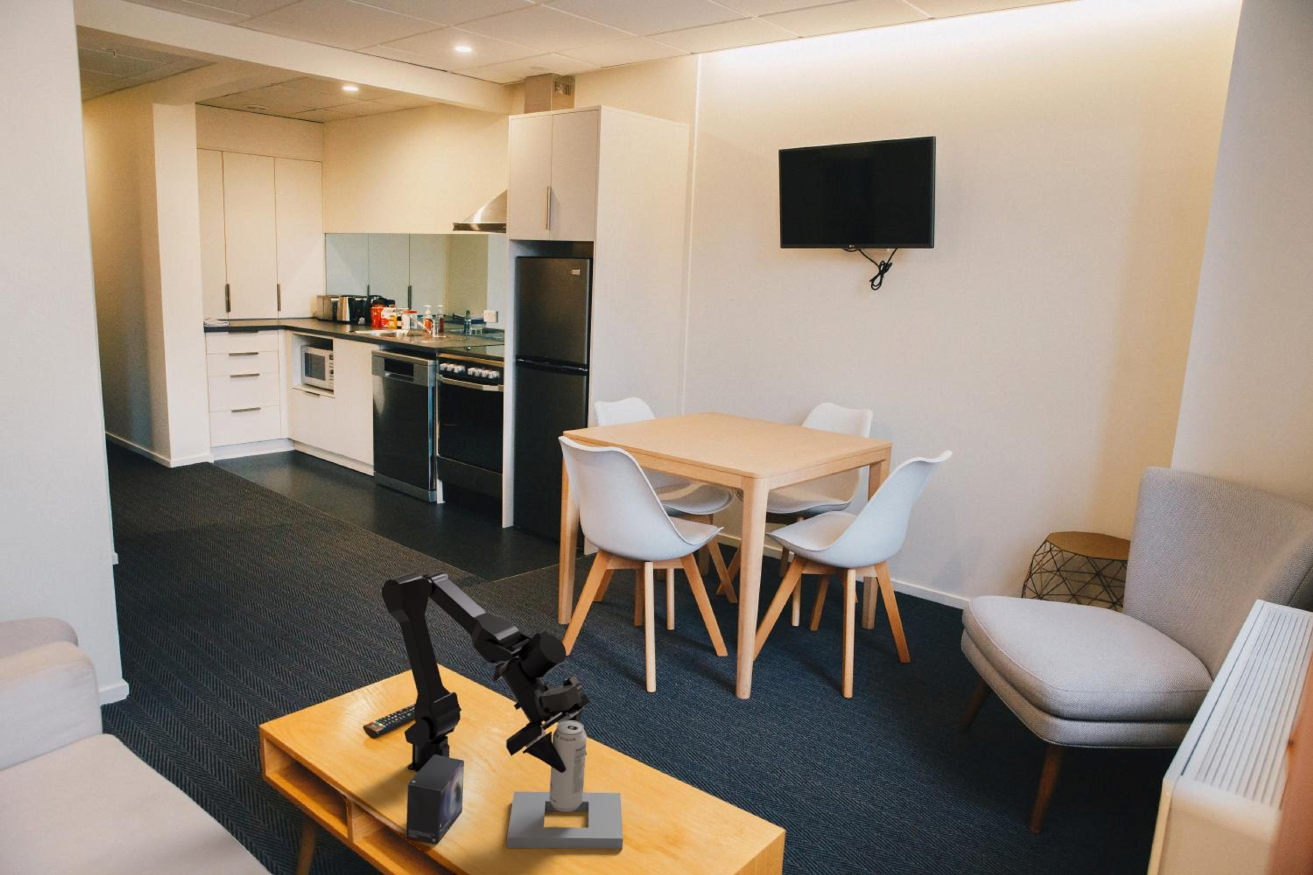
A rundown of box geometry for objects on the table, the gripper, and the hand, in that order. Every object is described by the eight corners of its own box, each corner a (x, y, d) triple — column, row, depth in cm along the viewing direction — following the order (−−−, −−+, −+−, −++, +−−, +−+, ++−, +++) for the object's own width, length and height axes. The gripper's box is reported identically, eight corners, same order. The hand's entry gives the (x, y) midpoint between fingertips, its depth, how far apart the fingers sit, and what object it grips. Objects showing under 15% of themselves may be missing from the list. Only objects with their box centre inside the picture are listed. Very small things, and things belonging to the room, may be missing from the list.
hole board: (506, 847, 151) (507, 837, 151) (513, 800, 165) (514, 791, 164) (622, 848, 153) (623, 838, 152) (619, 802, 166) (620, 792, 166)
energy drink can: (557, 790, 162) (562, 715, 159) (587, 798, 160) (592, 722, 157) (543, 808, 156) (547, 730, 154) (574, 816, 154) (578, 738, 152)
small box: (439, 845, 150) (440, 790, 149) (404, 839, 152) (405, 783, 150) (464, 811, 161) (466, 758, 159) (431, 805, 162) (432, 752, 160)
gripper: (522, 686, 148) (572, 767, 144) (584, 650, 164) (631, 723, 160) (484, 715, 153) (532, 795, 149) (548, 678, 169) (592, 749, 165)
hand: (574, 763), depth 156 cm, fingers closed on energy drink can, 6 cm apart
